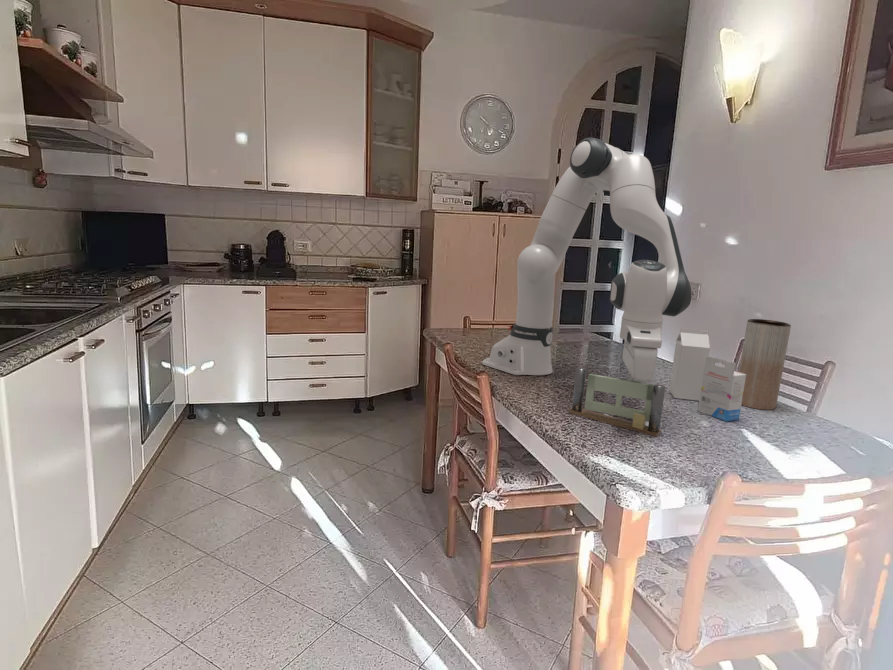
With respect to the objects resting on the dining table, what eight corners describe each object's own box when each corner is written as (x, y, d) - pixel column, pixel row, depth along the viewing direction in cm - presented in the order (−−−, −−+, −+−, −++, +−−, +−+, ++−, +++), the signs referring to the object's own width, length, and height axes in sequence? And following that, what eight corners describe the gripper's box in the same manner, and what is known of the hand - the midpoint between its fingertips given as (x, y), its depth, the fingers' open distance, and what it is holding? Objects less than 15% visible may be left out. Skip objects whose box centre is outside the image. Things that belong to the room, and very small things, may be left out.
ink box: (739, 420, 133) (749, 362, 131) (726, 422, 131) (736, 363, 128) (710, 409, 141) (718, 354, 138) (696, 411, 139) (705, 355, 136)
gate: (584, 408, 130) (588, 374, 128) (586, 407, 131) (589, 373, 130) (650, 422, 123) (655, 386, 122) (651, 420, 125) (655, 384, 123)
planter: (784, 410, 143) (800, 326, 139) (748, 409, 142) (763, 324, 138) (760, 399, 153) (774, 319, 149) (726, 397, 152) (739, 318, 148)
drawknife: (568, 412, 131) (573, 368, 129) (574, 409, 134) (579, 366, 132) (656, 436, 119) (663, 388, 117) (661, 433, 121) (667, 385, 119)
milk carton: (701, 401, 147) (712, 333, 143) (674, 398, 148) (683, 330, 145) (695, 394, 154) (705, 328, 150) (668, 391, 155) (678, 326, 152)
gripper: (620, 322, 135) (613, 376, 138) (632, 339, 115) (624, 401, 118) (646, 325, 134) (639, 378, 137) (663, 342, 114) (655, 404, 117)
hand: (632, 389), depth 127 cm, fingers closed
